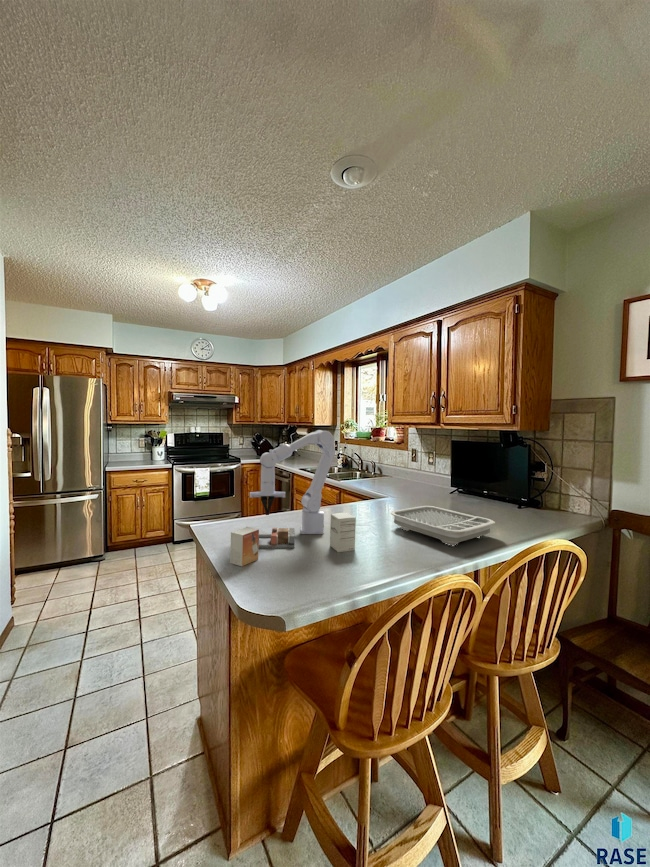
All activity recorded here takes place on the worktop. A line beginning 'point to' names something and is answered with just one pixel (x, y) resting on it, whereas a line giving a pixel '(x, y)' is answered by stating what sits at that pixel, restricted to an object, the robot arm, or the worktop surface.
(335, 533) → the supplement box
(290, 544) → the vise body
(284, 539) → the walnut block
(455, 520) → the dish rack
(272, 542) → the free jaw
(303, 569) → the worktop surface
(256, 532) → the small box
